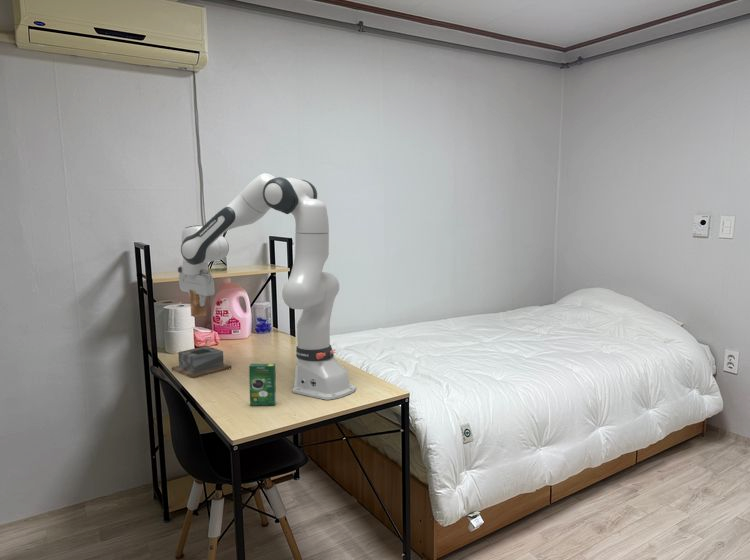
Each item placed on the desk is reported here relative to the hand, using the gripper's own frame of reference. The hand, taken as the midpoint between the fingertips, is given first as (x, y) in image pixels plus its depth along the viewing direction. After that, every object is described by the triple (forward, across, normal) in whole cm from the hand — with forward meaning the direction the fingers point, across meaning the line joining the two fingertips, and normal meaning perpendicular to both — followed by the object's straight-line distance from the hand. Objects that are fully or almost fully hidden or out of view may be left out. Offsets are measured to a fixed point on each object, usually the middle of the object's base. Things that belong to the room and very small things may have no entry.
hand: (197, 305), depth 197 cm
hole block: (+25, 0, 0) cm, 25 cm away
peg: (+4, 0, 0) cm, 4 cm away
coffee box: (+25, -49, +6) cm, 55 cm away
